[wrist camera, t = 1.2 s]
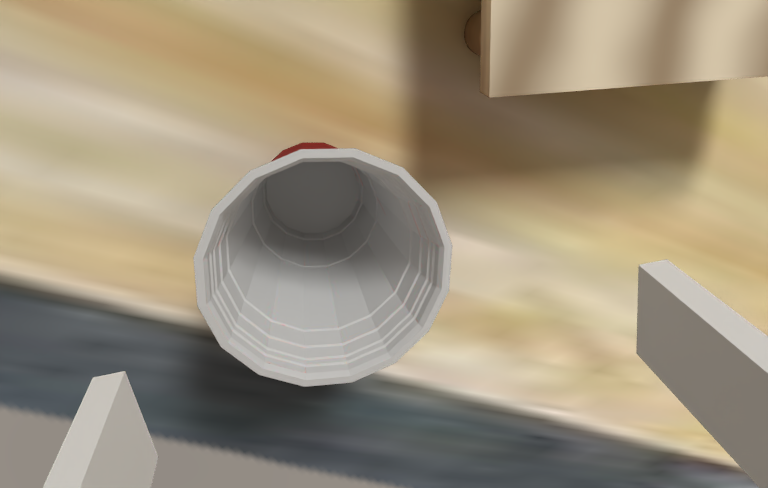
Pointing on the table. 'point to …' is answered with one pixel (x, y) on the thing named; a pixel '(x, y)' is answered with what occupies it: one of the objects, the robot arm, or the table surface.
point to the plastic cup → (322, 266)
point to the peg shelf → (615, 43)
